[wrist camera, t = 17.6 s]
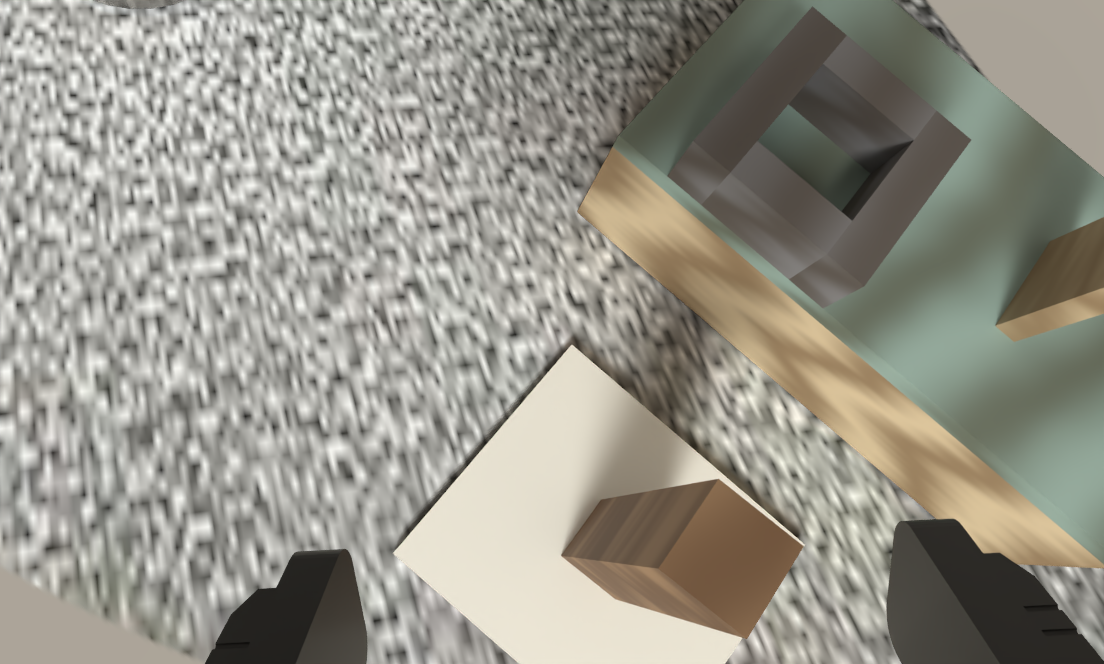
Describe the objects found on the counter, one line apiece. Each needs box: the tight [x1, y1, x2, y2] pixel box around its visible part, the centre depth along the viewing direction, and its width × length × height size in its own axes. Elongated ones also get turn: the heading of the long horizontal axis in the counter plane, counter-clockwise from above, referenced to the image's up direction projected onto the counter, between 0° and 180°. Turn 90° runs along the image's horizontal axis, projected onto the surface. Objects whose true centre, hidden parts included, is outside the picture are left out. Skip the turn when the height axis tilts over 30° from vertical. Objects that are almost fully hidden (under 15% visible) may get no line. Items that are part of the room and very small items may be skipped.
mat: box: [393, 345, 805, 664], centre depth 36 cm, size 14×12×1 cm
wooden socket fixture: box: [577, 0, 1104, 568], centre depth 34 cm, size 26×14×16 cm, turn 50°
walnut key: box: [561, 479, 804, 639], centre depth 29 cm, size 3×3×14 cm
